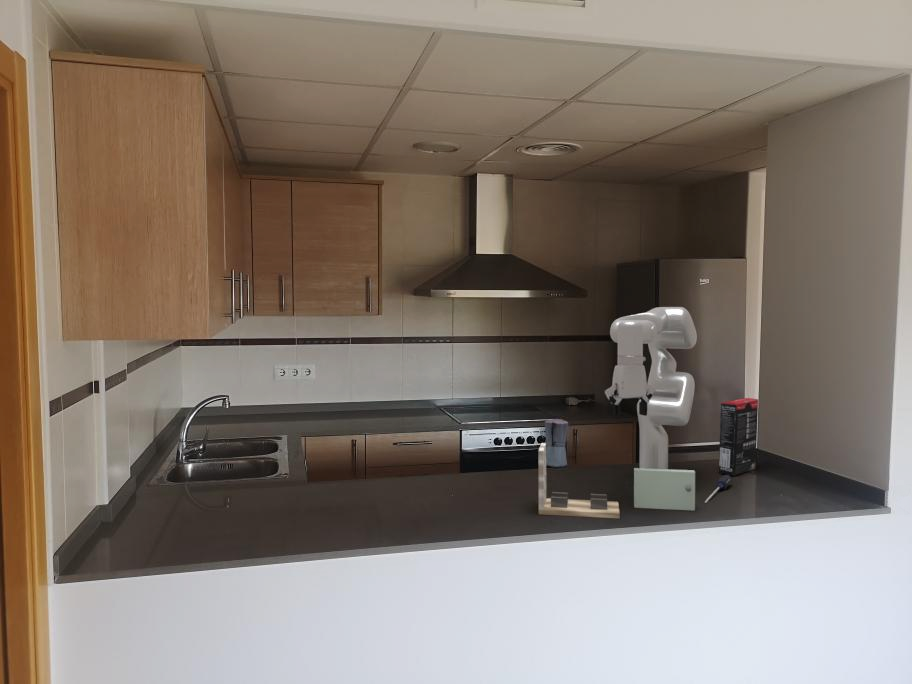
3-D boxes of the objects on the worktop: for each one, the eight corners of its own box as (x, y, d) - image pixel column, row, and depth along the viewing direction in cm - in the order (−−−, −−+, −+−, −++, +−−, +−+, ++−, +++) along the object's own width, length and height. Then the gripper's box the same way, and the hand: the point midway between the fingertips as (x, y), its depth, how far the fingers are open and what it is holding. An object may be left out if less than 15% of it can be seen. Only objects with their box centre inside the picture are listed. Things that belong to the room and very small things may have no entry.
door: (633, 505, 209) (634, 468, 208) (693, 508, 205) (693, 470, 204) (634, 508, 205) (634, 471, 205) (695, 512, 202) (695, 473, 201)
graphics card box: (740, 466, 256) (741, 396, 255) (757, 469, 251) (759, 398, 249) (717, 473, 245) (718, 401, 244) (736, 477, 240) (737, 403, 238)
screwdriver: (710, 504, 209) (711, 492, 209) (699, 502, 211) (699, 490, 211) (733, 485, 230) (733, 475, 229) (722, 484, 232) (722, 473, 231)
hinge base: (541, 502, 212) (541, 442, 211) (618, 506, 208) (618, 445, 206) (538, 514, 201) (538, 451, 200) (619, 518, 196) (619, 453, 195)
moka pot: (570, 461, 267) (570, 412, 266) (566, 470, 252) (566, 419, 251) (546, 460, 270) (546, 411, 268) (541, 469, 255) (541, 418, 254)
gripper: (646, 359, 210) (646, 412, 211) (599, 361, 204) (599, 416, 205) (661, 361, 203) (660, 416, 204) (612, 363, 197) (612, 419, 198)
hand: (629, 416), depth 204 cm, fingers open, 9 cm apart
